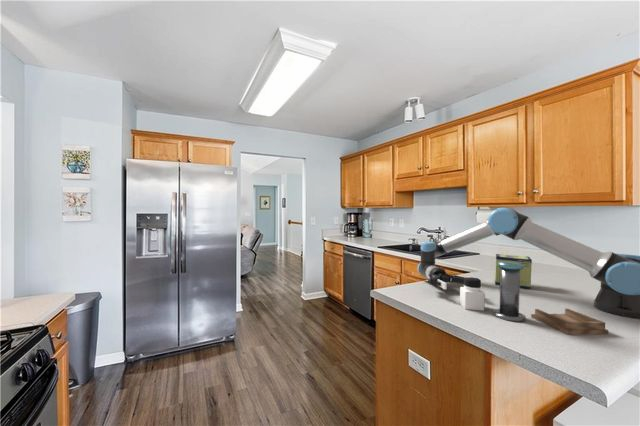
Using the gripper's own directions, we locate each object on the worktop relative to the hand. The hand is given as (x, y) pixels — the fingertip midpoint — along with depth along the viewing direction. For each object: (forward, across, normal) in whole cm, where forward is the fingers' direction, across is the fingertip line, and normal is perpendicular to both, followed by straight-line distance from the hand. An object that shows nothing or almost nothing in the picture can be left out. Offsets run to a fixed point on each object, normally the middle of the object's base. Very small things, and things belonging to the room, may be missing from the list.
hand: (460, 286), depth 118 cm
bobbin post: (+17, -8, -6) cm, 20 cm away
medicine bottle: (+7, 0, -7) cm, 10 cm away
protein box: (-25, -44, -7) cm, 51 cm away
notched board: (+25, -23, -6) cm, 35 cm away
